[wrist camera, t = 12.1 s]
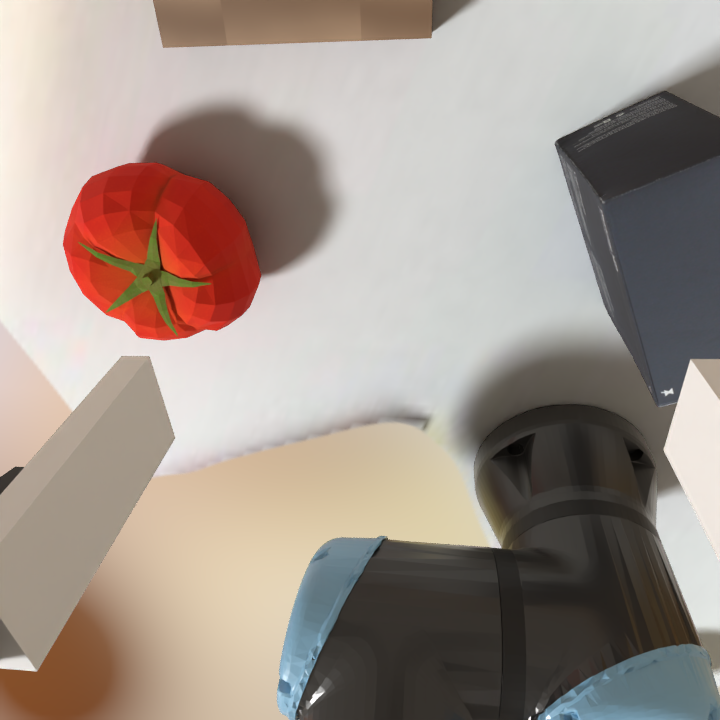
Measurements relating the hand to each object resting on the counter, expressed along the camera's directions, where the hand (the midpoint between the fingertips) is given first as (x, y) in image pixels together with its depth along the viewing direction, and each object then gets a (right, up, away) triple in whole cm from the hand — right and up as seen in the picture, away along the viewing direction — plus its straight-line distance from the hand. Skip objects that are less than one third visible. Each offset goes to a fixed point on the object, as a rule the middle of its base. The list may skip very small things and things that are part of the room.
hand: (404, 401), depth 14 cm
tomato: (-14, +10, +28) cm, 32 cm away
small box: (+17, +11, +23) cm, 30 cm away
